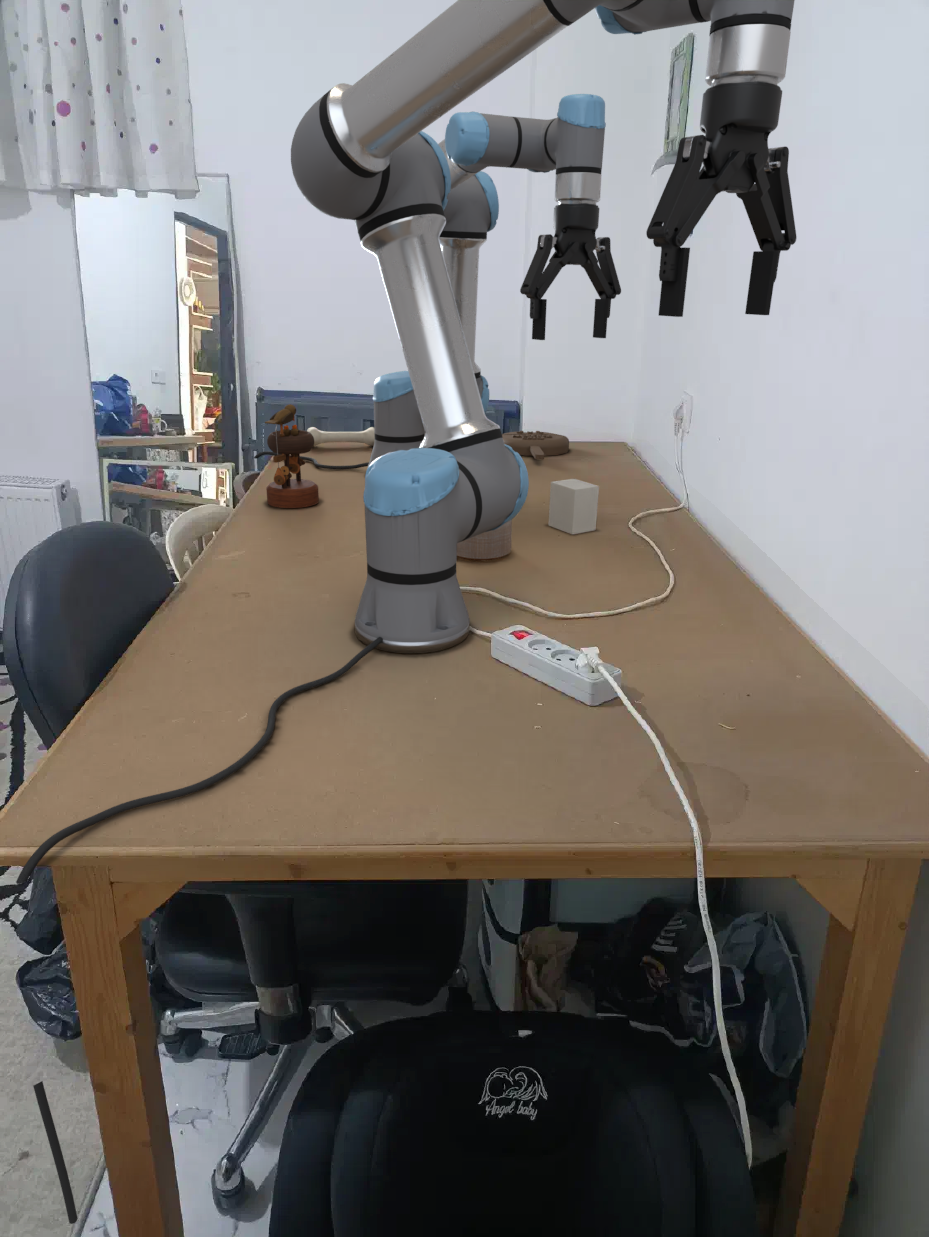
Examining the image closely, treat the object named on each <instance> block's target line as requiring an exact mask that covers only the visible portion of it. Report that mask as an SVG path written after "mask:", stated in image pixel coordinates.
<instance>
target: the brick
mask: <svg viewBox="0 0 929 1237" xmlns="http://www.w3.org/2000/svg"><path fill="white" fill-rule="evenodd" d="M549 489H550V490H549V509H548V526H549V527H552V528H554V529H557V530H560V531H562V532H565V533H567V534H570V535H577V534H578V535H579V534H583V533H589V532H593V531H596V530H597V518H598V506H599V493H600V492H599V491H600V486H599V485H596V484H593V483H590V482H587V481H585V480H584V481H583V480H581V479H578V478H567V479H561V480H553V481H550V488H549Z"/></svg>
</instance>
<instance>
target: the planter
mask: <svg viewBox="0 0 929 1237" xmlns="http://www.w3.org/2000/svg"><path fill="white" fill-rule="evenodd" d="M512 530H513V519H512V520H510V521H508V522H507V523H505V524H503V525H502V526H501V527H499V528H498V529H496V530H492V531H488V532H484V533H481V534H479V535H476V536H474V537H472V538H469V539H467V540H464V541H462V542H459V543H457V559H458V558H459V559H461V560H466V561H471V562H472V561H473V562H488V561H496V560H499V559H502V558H505V557H506V556H508V555H509V554H510V553H511V551H512V536H513V533H512V532H513V531H512Z"/></svg>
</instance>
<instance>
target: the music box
mask: <svg viewBox="0 0 929 1237" xmlns="http://www.w3.org/2000/svg"><path fill="white" fill-rule="evenodd" d="M296 414H297V408H296V406H295V405H294V404H292V403H291V404H286V405H285V406H284V408H282V409H280V410H279V411H277V412H275V413H274V414H273V415H272V416H271V417H270V418H269V420H266V421H264V424H269V425H275V429H274V430H275V431H271V432H270V433H269V435H268V436H267V439H266V443H267V447H268V448H269V451H271V452H274V453H277V455H276V456H274V455H272V458H273V459H272V460H273V463H275V464H276V463H277V468H276V471H275V473H274V475H273V481H271V482H270V483H269V484H268V485H267V486H266V501H267V504H268V505H269V506H271V507H275V508H279V509H280V508H281V509H300V508H301V509H302V508H307V507H311V506H315V505H316V504H318V503H319V502H320V496H319V494H320V492H319V485H318V484H317V483H316V482H315V481H313V480H310V479H306V478H305V479H304V478H302V473H301V467H302V466H304V465H305V464H306V460H302V459H301V458H300V456H301V455H302V454H308V453H310V452H311V451H312V449H313V448H314V447H315V446H314V437H313V435H312V434H311V433H310V432H308V431H307V430H304V429H299V428H298V425H297V424H293V425H292V426H291V429H289V425H288V424H289V423H290V422H291V423H292V421H293V422H295V415H296ZM278 425H279V426H280V427H279V429H280V430H277V428H278ZM283 425H284V426H283ZM278 454H280V455H278ZM290 456H291V457H290ZM280 462H281V463H282V462H283V464H284V465H283V466H281V467H280ZM292 474H293V475H295V478H292V477H293V475H292Z"/></svg>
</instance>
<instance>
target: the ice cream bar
mask: <svg viewBox="0 0 929 1237" xmlns="http://www.w3.org/2000/svg"><path fill="white" fill-rule="evenodd" d="M502 437H503V441H504V444H506V445H508V446H510V447H512V449H513V450H514V451H515V452H518V454H519V455H520V456H532V457H533V458H534V459H535V460H538V461H539V460H540V461H541V460H545V456H558V455H563V454H566V453H568V452H569V450H570V439H569V438H568V437H567V436H566V435H564V434H563V435H562V434H558V433H552V432H548V431H547V432H546V431H540V430H536V431H535V432H534V431H524V430H519V431H509V432H505V433H502Z"/></svg>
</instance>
